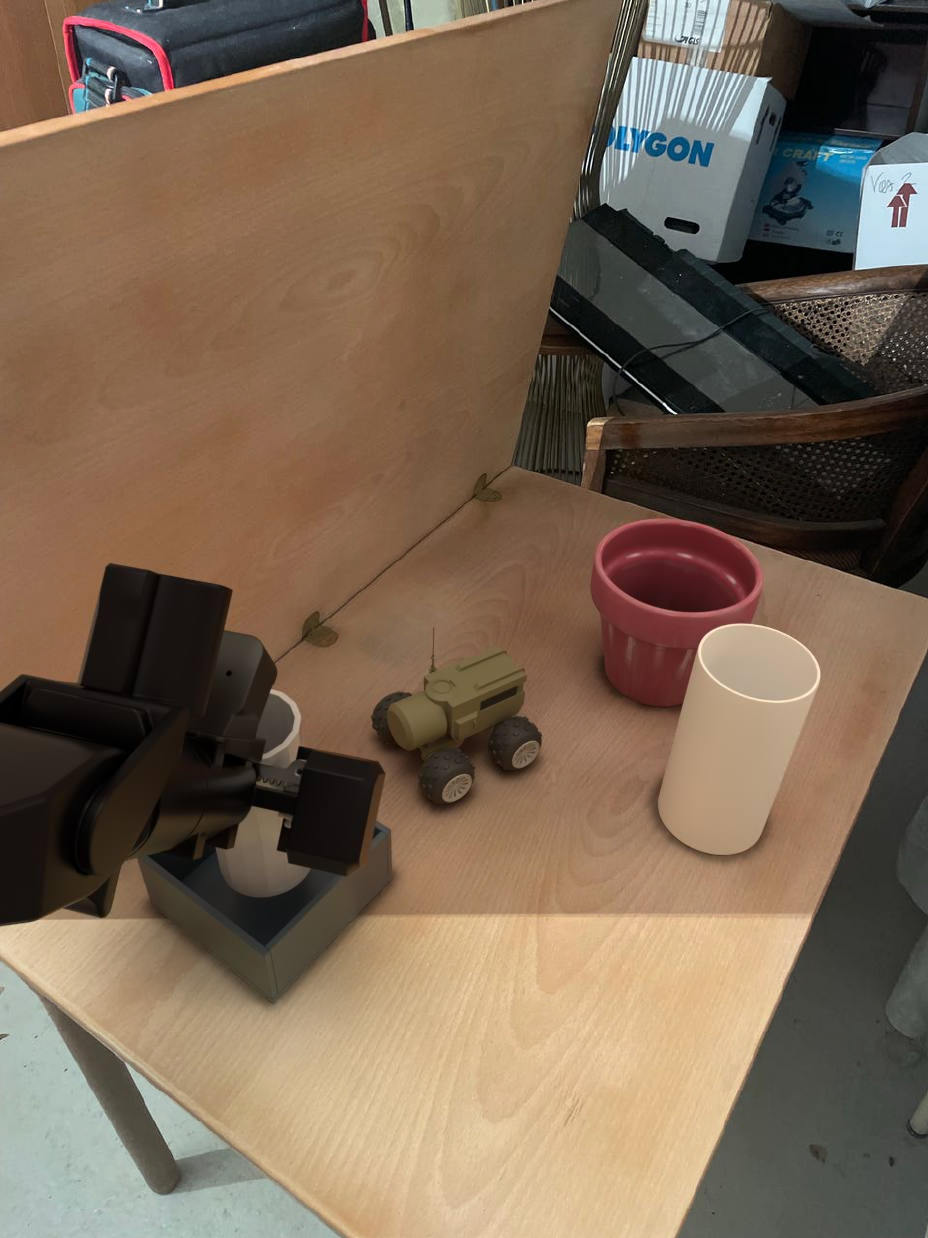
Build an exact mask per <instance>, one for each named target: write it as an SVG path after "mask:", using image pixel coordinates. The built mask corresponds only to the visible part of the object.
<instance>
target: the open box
mask: <svg viewBox="0 0 928 1238" xmlns="http://www.w3.org/2000/svg"><path fill="white" fill-rule="evenodd" d="M392 845H393V844H392V829H390V828H389V827H388V826H386V825H385V824H383V823H381V822H380V821H378V820H377V819H376V824H375V829H374V834H373V838H372V843H371V848H370V853H369V858H368V863H367V865H365V866H364V867H362V868H361V869H359V870H358V871H356V872H355V873H353V874H351V875H349V876H348V877H345V876H340V875H336V874H332V873H327V872H323V871H319V870H315V869H310V871H309V873H308V874H307V876H306V877H305V878H304V879H303V880H302V881H301V882H300V883H299V884H298V885H297V886H295V887H294V888H292V889H291V890H289V891H287V892H285V893H282V894H279V895H276V896H271V897H261V898H259V897H250V896H246V895H243V894H241V893H238V892H237V891H235V890H233V889H232V888H231V887H230V886H229V885H228V884H227V883H226V882H225V880H224V879H223V877H222V874H221V871H220V867H219V863H218V859H217V854H216V850H215V847H213V846H208V845H204V849H203V853H202V857H201V858H198V859H194V860H191V859H186V858H182V857H178V856H174V855H169V854H165V853H161V852H158V853H154V854H151V855H147V856H143V857H139V858H136V860H137V864H138V867H139V870H140V873H141V876H142V879H143V882H144V886H145V889H146V892H147V895H148V898H149V902H150V905H151V906H152V907H153V908H154V909H156V910H157V911H158V912H159V913H160V914H162V915H164V917H166V918H167V919H168V920H169V921H171V923H173V924H174V925H175V926H176V927H178V928H179V929H180V930H181V931H183V932H184V933H185V934H186V935H188V936H189V937H190V938H191V939H193V940H194V941H195V942H196V943H197V944H199V945H200V946H201V947H203V948H204V949H205V950H206V951H207V952H209V953H210V954H211V955H212V956H214V957H215V958H216V959H217V960H218V961H219V962H221V963H222V964H223V965H225V967H227V968H228V969H230V970H231V971H232V972H233V973H234V974H236V975H237V976H238V977H239V978H241V980H243V981H244V982H245V983H246V984H247V985H249V986H250V987H251V988H253V989H254V990H255V991H256V992H258V993H259V994H260V995H261V996H262V997H265V999H267V1000H268V1001H269V1002H270V1003H271V1004H275V1002H277V1001H278V999H279V998H280V997H281V996H282V995H283V994H284V993H285V992H286V991H287V990H288V989H289V988H290V987H291V986H292V985H293V984H294V982H296V980H297V979H299V978H300V976H301V975H302V974H303V973H304V972H305V971H306V970H307V969H308V968H309V967H310V966H311V965H312V964H313V963H314V962H315V960H317V958H319V956H320V955H321V954H322V953H323V952H324V951H325V950H326V949H327V948H328V947H329V946H330V945H331V943H333V942H334V941H335V940H336V938H337V937H338V936H339V935H340V934H341V933H342V932H343V931H344V930H345V929H346V928H347V927H348V926H349V924H350V923H352V922H353V921H354V919H355V918H356V917H357V916H359V914H360V913H361V912H362V911H363V910H364V909H365V908H366V907H367V906H368V904H370V903H371V902H372V900H374V898H375V897H376V896H377V895H378V894H379V893H380V892H381V891H382V890H383V889H384V888H385V887H386V886H387V884H389V882H390V881H391V880H392V879H393V851H392V850H393V849H392Z"/></svg>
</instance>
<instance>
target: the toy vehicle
mask: <svg viewBox="0 0 928 1238" xmlns="http://www.w3.org/2000/svg"><path fill="white" fill-rule="evenodd" d="M435 657H436V655H435V627H434V626H433V627H432V654H431V656H430V659H431V665H430V667H428V673H427V674H425V675H423V690H421V691H419V692H417V693H413V694H412V693H411V692H409V691H408V692H405V691H401V690H399V691H395V692H392V693H389V694H388V695H386V696H384V697H383V698H382V699H381V700H379V701H378V703H377V704H376V705H375V707H374V709H373V711H372V714H371V716H370V719H371V723H372V724H371V727H372V730H375V731H376V732H377V733H376V735H377V736H378V737H379V739H381V740H384V741H383V742H384V743H385V744H387V745H390V744H391V745H398V746H399V747H401V748H402V749H404V750H406V751H410V752H411V751H414V750H417V749H418V748H419V750H420V751H421V754H420V757H421V759H422V760H423V763H422V765H421V767H420V768H419V771H418V773H417V777H418V782H417V785H418V786H419V789H422V790H423V794H424V796H425V797H426V798H427V799H428V800H431V801H432V803H433V804H435V805H438V804H439V805H448V804H451V803H454V802H455V801H458V800H459V799H461V798H462V797H464V795H466V794H467V792H468V791H469V790H470V789H471V787H472V786H473V783H474V780H475V776H476V775H475V773H476V772H475V769H476V766H475V765H474V763H471V760H470V757H469V756H468V755H467V754H465V753H464V752H462V750H461V749H460V747H461V745H463V743H464V741H465V739H467V738H469V737H471V736H473V735H476V734H477V733H480V732H482V731H484V730H489V729H491V728H493V729H492V732H491V733H490V735H489V738H488V741H487V748H488V749H487V753H488V755H489V756H491V758H492V760H493V761H494V763H495V764H497V765H498V766H500V768H501V769H502V770H504V771H507V770H508V771H516V770H520V769H522V768H524V767H526V766H528V765H530V764H531V763H532V762H533V761H534V760H535V758H536V757H537V756H538V754H539V753H540V750H541V747H542V743H543V739H542V737H543V734H542V732H541V731H539V728H538V726H537V724H535V723H534V722H531V721H530V719H529V718H528V717H527V716H520V715H518V713H519V712H520V711H521V709H522V707H523V706H524V704H525V697H526V691H525V690H524V684H525V683H526V682H527V681H528V680H527V678H528V674H527V673H526V669H525V668H524V667H523V666H522V665H520V664H517V663H516V662H515V661H513V659H511V658H510V656H508V655H507V650H505V649H504V648H503V647H502V646H498V645H495V646H492V647H491V648H488V649H486V650H483V651H481V652H478V653H476V654H474V655H473V654H472V655H471V656H469V657H466V658H464V659H461V660H459V661H456V662H454V663H451V664H449V665H447V666H444V667H442V668H439V669H438V668H437V666H435ZM440 738H441V739H440ZM438 739H439V740H438ZM435 740H437V741H435ZM433 741H435V742H433ZM432 742H433V743H432ZM430 743H432V744H430ZM427 744H430V745H428V746H427Z"/></svg>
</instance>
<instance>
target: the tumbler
mask: <svg viewBox="0 0 928 1238" xmlns="http://www.w3.org/2000/svg"><path fill="white" fill-rule="evenodd" d="M256 737H257V738H262V739H266V743H265V748H264V752H263V757H262V761H261V762H260V763H263V764H268V765H273V766H277V767H282V768H287V767H288V766H289V765H290V764H291V763H292V762H293V761H294V760H296V756H297V751H298V747H299V746H303V747H305V737H304V729H303V718H302V714H301V712H300V710H299V707H298V704H297V703H296V702H295V700H293V699H292V698H291V697H289V696H288V695H287V694H286V693H284V692H283V691H280V690H277V689H273V688H271V691H270V694H269V697H268V699H267V702H266V705H265V708H264V711H263V713H262V716H261V719H260V722H259V724H258V729H257V733H256ZM256 785H260V786H265V787H269V788H274V789H278V790H283V791H284V787H283V784H282V783H281V785H280V786H276V781H275V782H274V784H273V785H271V784H269V780H268V781H267V783H263V780H262V779H261V781H260V782H257V781H256ZM278 814H279V812H276V811H272V810H267V809H263V808H258V807H254V806H252V808H251V810H250V812H249V813H248V815H247V816H246V818H245V819H244V820H243V821H242V822H241V823H239V827H238V832H237V836H236V841H235V845H234V848H231V849H228V850H225V849H221V848H217V847H215V850H216V854H217V859H218V863H219V867H220V871H221V874H222V877H223V879H224V880H225V882H226V883H227V884H228V885H229V886H230V887H231V888H232V889H233V890H235V891H237V892H238V893H241V894H243V895H246V896H250V897H259V898H261V897H271V896H276V895H279V894H282V893H285V892H287V891H289V890H291V889H292V888H294V887H295V886H297V885H298V884H299V883H300V882H301V881H302V880H303V879H304V878H305V877H306V876H307V874H308V873H309V871H310V868H306V867H302V866H297V865H293V864H289V863H288V859H287V853H284V852H280V851H277V845H278V840H279V836H280V831H281V826H282V822H283V818H281V817H278Z"/></svg>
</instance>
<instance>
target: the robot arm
mask: <svg viewBox="0 0 928 1238" xmlns="http://www.w3.org/2000/svg"><path fill="white" fill-rule="evenodd" d="M233 592H234V591H233V589H232V588H230V587H228V586H225V585H222V584H219V583H214V582H208V581H202V580H196V579H191V578H187V577H186V578H185V577H180V576H174V575H170V574H164V573H158V572H156V571H154V570H150V569H147V568H140V567H135V566H130V565H124V564H119V563H112V562H109V563H108V564H107V565H106V566H105V567H104V570H103V574H102V579H101V583H100V587H99V590H98V595H97V599H96V602H95V607H94V612H93V615H92V619H91V623H90V628H89V632H88V636H87V640H86V644H85V649H84V653H83V656H82V661H81V665H80V668H79V673H78V677H77V682H74V681H73V682H71V681H62V680H55V679H50V678H44V677H40V676H35V675H30V674H25V673H22V674H19V675H18V676H17V677H16V678H15V679H14V680H12V681H11V682H10V683H9V684H7V685H6V686H5V687H4V688H3V689H1V690H0V927H8V926H14V925H21V924H29V923H33V922H37V921H39V920H41V919H43V918H46V917H47V916H49V915H52V914H54V913H57V912H58V911H60V910H66V911H70V912H74V913H78V914H82V915H87V916H90V917H94V918H98V919H105V918H107V917H108V916H109V915H110V914H111V911H112V907H113V903H114V900H115V895H116V891H117V887H118V882H119V877H120V872H121V870H122V867H123V865H124V863H125V862H127V861H131V860H135V859H137V858H139V857H143V856H147V855H151V854H154V853H158V852H161V853H165V854H169V855H174V856H178V857H182V858H186V859H191V860H194V859H198V858H201V857H202V853H203V849H204V845H208V846H213V847H217V848H221V849H225V850H228V849H231V848H234V845H235V841H236V836H237V832H238V827H239V823H241V822H242V821H243V820H244V819H245V818H246V816H247V815H248V813H249V812H250V810H251V808H252V806H254V807H258V808H263V809H267V810H272V811H276V812H279V814H278V817H281V818H283V822H282V826H281V831H280V836H279V840H278V845H277V851H280V852H284V853H287V859H288V863H289V864H293V865H297V866H302V867H306V868H310V869H315V870H319V871H323V872H327V873H332V874H336V875H340V876H345V877H348V876H349V875H351V874H353V873H355V872H356V871H358V870H359V869H361V868H362V867H364V866H365V865H367V863H368V858H369V853H370V848H371V843H372V838H373V834H374V829H375V824H376V820H377V819H378V813H379V809H380V804H381V799H382V795H383V794H382V793H383V790H384V789H383V788H384V784H385V779H386V775H387V772H386V771H385V770H384V768H383V766H382V765H381V763H380V762H379V760H374V759H368V758H365V757H359V756H356V755H350V754H345V753H340V752H335V751H330V750H323V749H315V748H311V747H306V746H304V747H303V746H299V747H298V751H297V756H296V760H294V761H293V762H292V763H291V764H290V765H289V766H288V767H287V768H282V767H277V766H273V765H268V764H263V763H260V762H261V761H262V757H263V752H264V748H265V743H266V739H262V738H257V737H256V733H257V729H258V724H259V722H260V719H261V716H262V713H263V711H264V708H265V705H266V702H267V699H268V697H269V694H270V691H271V689H273V686H274V685H275V684H276V681H277V677H278V668H277V665H276V663H275V662H274V660H273V659H272V657H271V655H270V653H269V652H268V650H267V648H266V647H265V645H264V644H263V642H262V641H261V639H259V638H258V637H257V636H255V635H253V634H247V633H241V632H236V631H231V630H226V629H225V627H226V623H227V619H228V614H229V611H230V606H231V601H232V597H233ZM261 779H262V780H263V783H267V781H268V780H269V784H271V785H273V784H274V782H275V781H276V786H280V785H281V783H282V784H283V787H284V791H283V790H278V789H274V788H269V787H265V786H260V785H256V781H257V782H260V781H261Z"/></svg>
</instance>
